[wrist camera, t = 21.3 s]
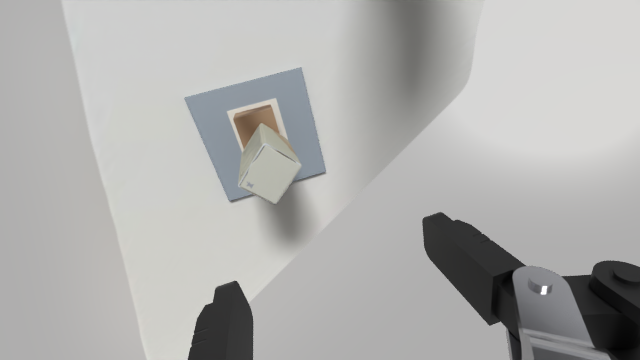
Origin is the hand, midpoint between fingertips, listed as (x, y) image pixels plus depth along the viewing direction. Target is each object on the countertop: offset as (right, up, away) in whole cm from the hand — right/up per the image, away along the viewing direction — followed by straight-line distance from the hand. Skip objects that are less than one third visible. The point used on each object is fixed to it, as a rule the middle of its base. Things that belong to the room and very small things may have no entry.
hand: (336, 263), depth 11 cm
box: (-8, +8, +24) cm, 27 cm away
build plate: (-9, +10, +29) cm, 32 cm away
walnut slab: (-9, +9, +28) cm, 31 cm away
